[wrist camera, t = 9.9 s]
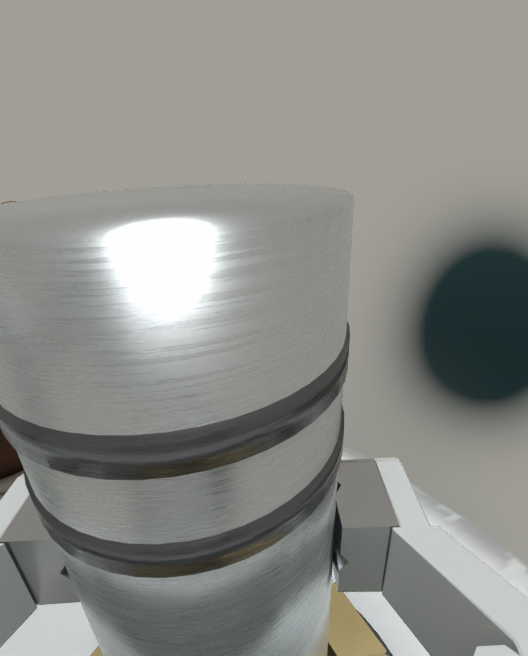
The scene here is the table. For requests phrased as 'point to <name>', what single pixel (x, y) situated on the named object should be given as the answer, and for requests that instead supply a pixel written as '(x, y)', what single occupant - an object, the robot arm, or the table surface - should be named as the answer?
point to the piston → (183, 406)
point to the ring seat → (344, 631)
